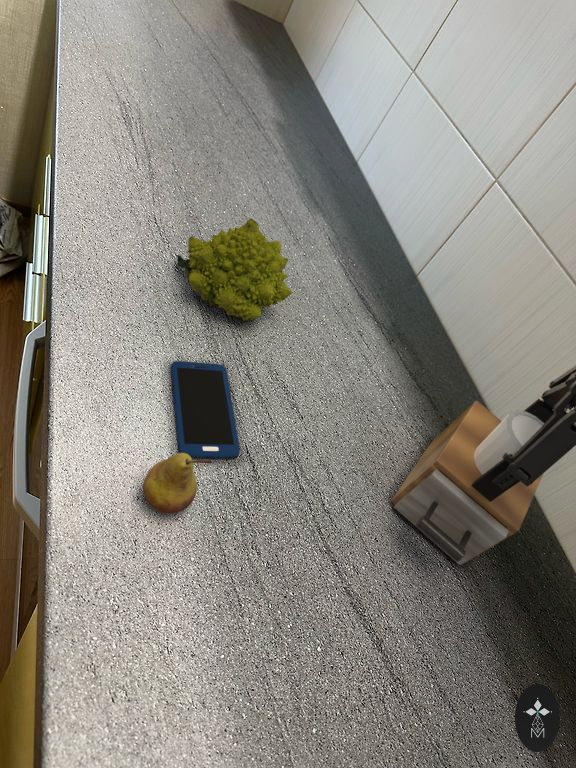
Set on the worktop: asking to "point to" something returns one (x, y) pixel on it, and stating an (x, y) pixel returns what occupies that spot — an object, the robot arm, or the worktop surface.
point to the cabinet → (470, 467)
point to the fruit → (171, 484)
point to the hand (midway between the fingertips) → (497, 462)
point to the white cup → (506, 439)
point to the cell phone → (204, 410)
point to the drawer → (450, 517)
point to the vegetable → (237, 270)
